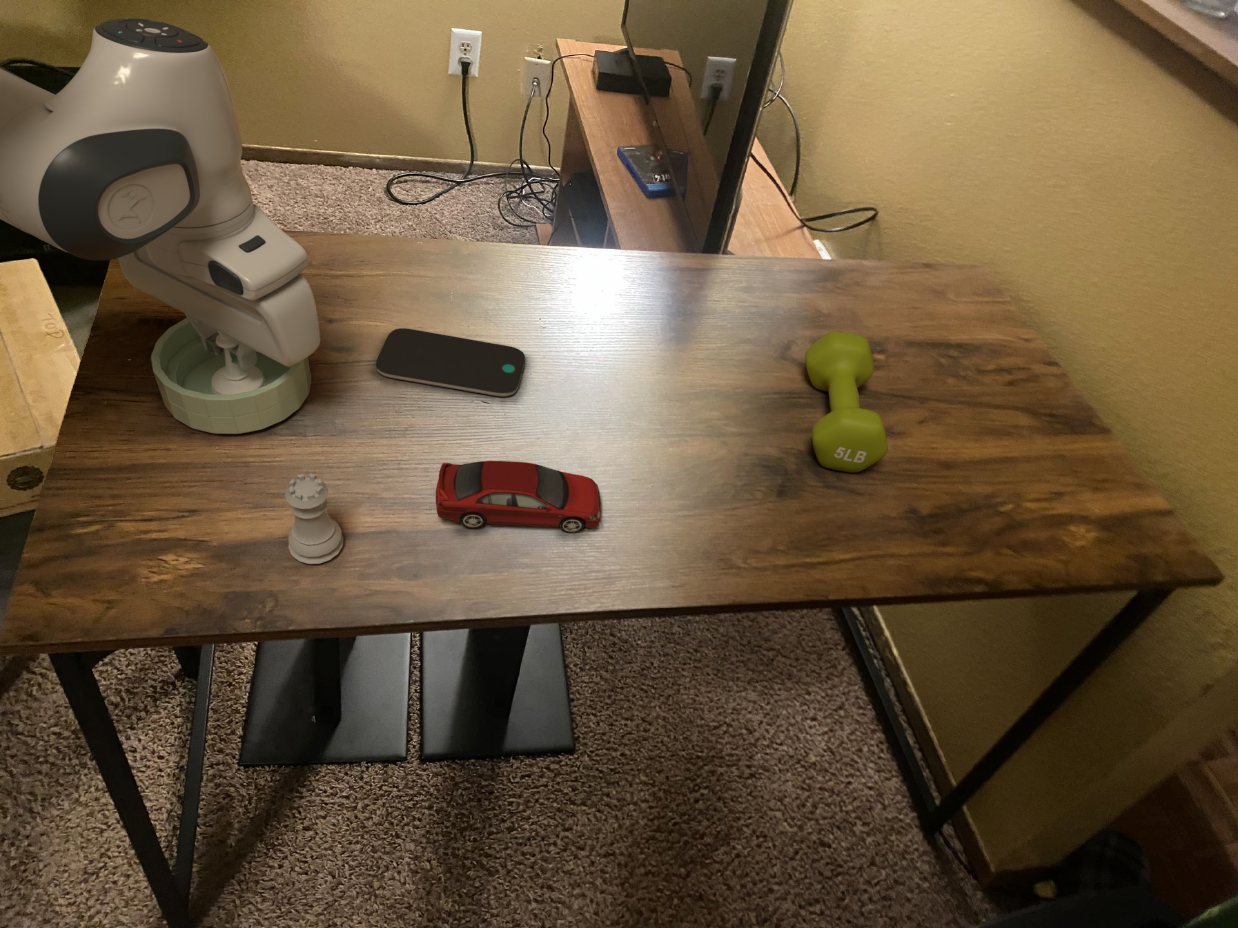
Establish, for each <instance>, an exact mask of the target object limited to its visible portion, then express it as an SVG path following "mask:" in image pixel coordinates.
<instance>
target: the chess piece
mask: <svg viewBox="0 0 1238 928" xmlns="http://www.w3.org/2000/svg"><path fill="white" fill-rule="evenodd" d="M218 333H219V335H218V336H217V337H216V344H217V345H218V346H219V347H222V348H224V352H225V363H226V366H225V367H222V368H221V369H219V370H218V371H217V372H216V373H215V374H214V375H213V377H212V379H211V388H212V391H213V393H214V394H215V395H232V394H237V393H243V392H249V391H253V390H256V389H258V388H261V387H263V386H265V384H266V380H265V377H264V375H263V373H262V371H261V370H260V369H258V368H257V367H255V366H252V367H251V368H249V369H248V370H243V369H241V368H240V367H238V366H236V365H234V364H233V363H232V361H231V360H232V358H231V357H230V353H229V351H231V350H232V349H234V348H236V346H237V344H235V343H234V341H233V338H231V337H229V336H227V335H225V334H223V333H221V332H219V331H218Z"/></svg>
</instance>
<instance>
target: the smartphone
mask: <svg viewBox="0 0 1238 928" xmlns="http://www.w3.org/2000/svg"><path fill="white" fill-rule="evenodd" d="M525 362H526V355H525V353H524V352H523V351H522V350H521V349H519V348H517V347H515V346H510V345H504V344H498V343H494V342H487V341H483V340H476V339H470V338H465V337H459V336H453V335H448V334H447V335H446V334H441V333H436V332H431V331H424V330H419V329H413V328H405V327H404V328H403V327H401V328H395V329H393V330H392V331H390V332H389V334H387V336H386V338H385V341H384V343H383V345H382V347H381V350H380V352H379V354H378V355H377V358H376V362H375V369H376V372H377V373H378V374H380V375H381V376H383V377H386V378H388V379H389V378H390V379H395V380H400V381H406V382H411V383H417V384H423V385H429V386H433V387H434V386H435V387H441V388H448V389H453V390H458V391H465V392H470V393H476V394H482V395H488V396H493V397H502V398H503V397H511V396H513V395H514V394H516V393H517V391H518V389H519V386H520V383H521V379H522V375H523V371H524V367H525Z"/></svg>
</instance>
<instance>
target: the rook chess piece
mask: <svg viewBox="0 0 1238 928" xmlns="http://www.w3.org/2000/svg"><path fill="white" fill-rule="evenodd" d="M288 484H289V485H288V487H287V488H286V489H285V494H284V498H285V500H286V502H287V503H288V504H289V505H290V510H291V512H292V514H293V515H294V523H293V524H292V525H291V528H290V529H289V532H288V538H287V543H288V550H289V552H290V555H291V556H292V557H293V558H294V559H296V560H297V561H298V562H300V563H303V564H308V565H321V564H322V563H326V562H328V561H331V560H332V559H333V558H334V557H336V556H337V555H338V554H339V553H340V551H341V550H342V548H343V546H344V535H343V534H342V529H341V527H340V526H339V523H338V522H337V521H336V520H335V519H333V518H332V517H331V516H330V515H328V512H327V508H328V500H327V498H328V496H329V488H328V486H327V484H326V483H325V482H324V481H322V479H321V478H317V475H316V474H314V473H309V474H308V476H305V473H299V474H297V479H295V478H291V479H290V481H289V482H288Z"/></svg>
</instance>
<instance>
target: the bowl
mask: <svg viewBox="0 0 1238 928" xmlns="http://www.w3.org/2000/svg"><path fill="white" fill-rule="evenodd" d="M238 345H239V344H238ZM238 345H237V346H236V348H237V347H238ZM256 354H257V359H258V360H257V363H256V364H255V365H254V366H255V367H257V368H258V369H260V370H261V371H262V373H263V375H264V377H265V380H266V384H265V386H263V387H261V388H258V389H256V390H253V391H249V392H243V393H237V394H232V395H215V394H214V393H213V391H212V388H211V379H212V377H213V375H214V374H215V373H216V372H217V371H218V370H219V369H221V368H222V367H225V366H226V363H225V352H222V354H221V355H218V356H217V355H215V354H214V353H212V352H210V351H207V350H205V349H204V346H203V343H202V339H201V336H199V334H198V333H197V332H196V330H195V329H194V328H193V326H192V325H191V324H190V322H189V321H188V320H187V318H186V317H185V318H184V319H182V320H180V321H179V322H177V323H176V324H174V325H172V326H170V327H169V328H168V329H167V330H166V331H165V332H164V333H163V334H162V335H161V336H160V337H159V338H158V339H157V340H156V342H155V344H154V347H153V349H152V352H151V355H150V361H151V366H152V372H153V375H154V378H155V381H156V384H157V386H158V389H159V393H160V396H161V398H162V401H163V404H164V406H165V408H166V409H167V410H168V412H169V413H170V414H171V415H172V417H173V418H174V419H175V420H177V421H178V422H180V423H182V424H184V425H186V426H188V427H189V428H191V429H195V430H198V431H201V432H207V433H211V434H223V435H224V434H227V435H229V434H231V435H238V434H239V435H240V434H244V433H250V432H255V431H260V430H264V429H266V428H268V427H270V426H274V425H275V424H278V423H280V422H282V421H284V420H286V419H287V418H288V417H290V416H291V415H292V414H293V413H295V412H297V411H298V410H299V409H300V408H301V406H302V405H303V404H304V402H305V401H306V400H307V398H308V396H309V394H310V390H311V385H312V374H311V368H310V363H309V356H308V357H307V358H305V359H304V360H302V361H301V362H299V363H297V364H296V365H294V366H292V367H287V366H285V365H283V364H281V363H279V362H277V361H275V360H273V359H271V358H270V357H268V356H266V355H264V354H262V353H260V352H258V351H256Z"/></svg>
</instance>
